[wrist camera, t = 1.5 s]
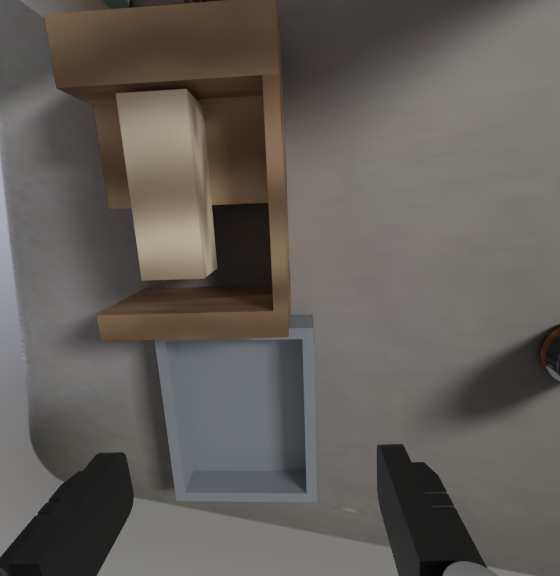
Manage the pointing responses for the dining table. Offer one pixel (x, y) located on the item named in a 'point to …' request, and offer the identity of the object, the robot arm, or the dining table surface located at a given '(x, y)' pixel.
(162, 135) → the slab
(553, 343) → the supplement bottle
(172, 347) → the tray
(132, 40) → the open wooden box frame
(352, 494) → the dining table surface
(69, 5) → the can
